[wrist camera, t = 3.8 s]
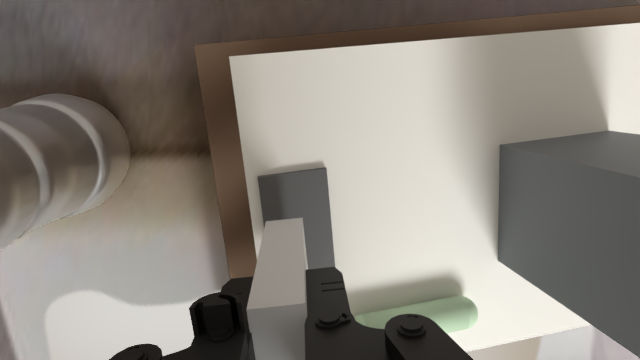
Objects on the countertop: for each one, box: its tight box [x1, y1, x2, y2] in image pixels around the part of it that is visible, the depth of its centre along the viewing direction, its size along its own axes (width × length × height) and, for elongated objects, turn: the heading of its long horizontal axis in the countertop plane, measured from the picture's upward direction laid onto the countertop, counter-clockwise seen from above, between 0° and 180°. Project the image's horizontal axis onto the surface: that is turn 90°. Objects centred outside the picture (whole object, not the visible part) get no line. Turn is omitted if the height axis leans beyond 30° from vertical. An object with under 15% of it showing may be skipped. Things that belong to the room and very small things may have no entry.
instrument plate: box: [229, 23, 640, 358], centre depth 17 cm, size 16×24×9 cm, turn 95°
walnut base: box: [194, 5, 640, 279], centre depth 25 cm, size 18×26×3 cm
